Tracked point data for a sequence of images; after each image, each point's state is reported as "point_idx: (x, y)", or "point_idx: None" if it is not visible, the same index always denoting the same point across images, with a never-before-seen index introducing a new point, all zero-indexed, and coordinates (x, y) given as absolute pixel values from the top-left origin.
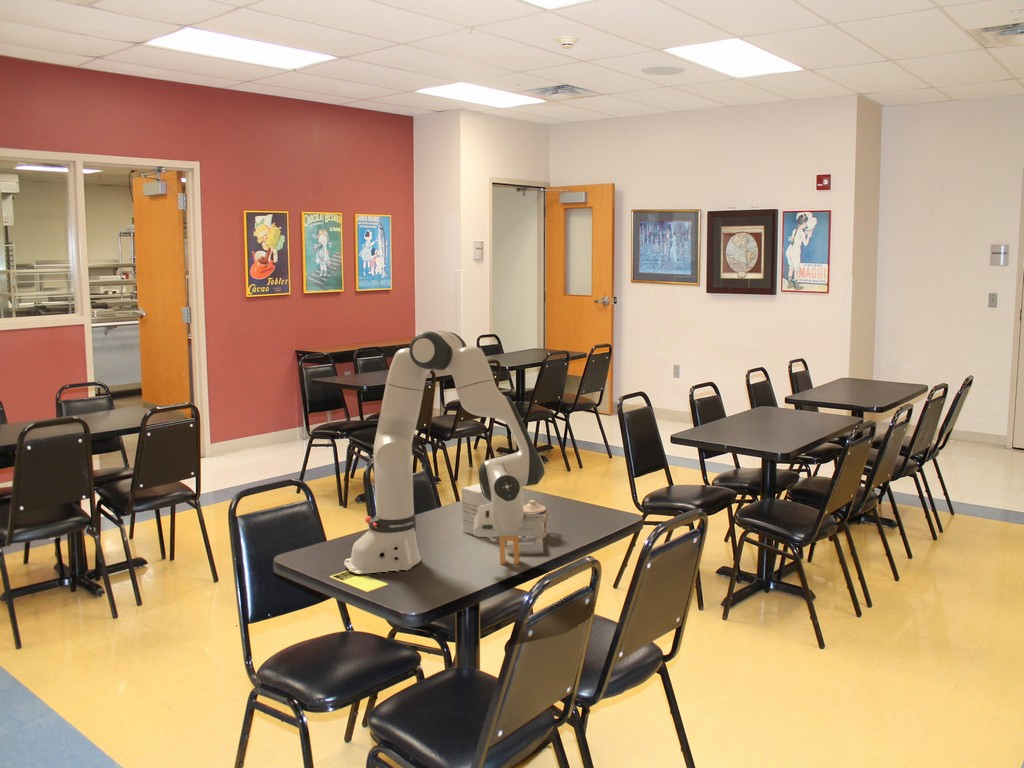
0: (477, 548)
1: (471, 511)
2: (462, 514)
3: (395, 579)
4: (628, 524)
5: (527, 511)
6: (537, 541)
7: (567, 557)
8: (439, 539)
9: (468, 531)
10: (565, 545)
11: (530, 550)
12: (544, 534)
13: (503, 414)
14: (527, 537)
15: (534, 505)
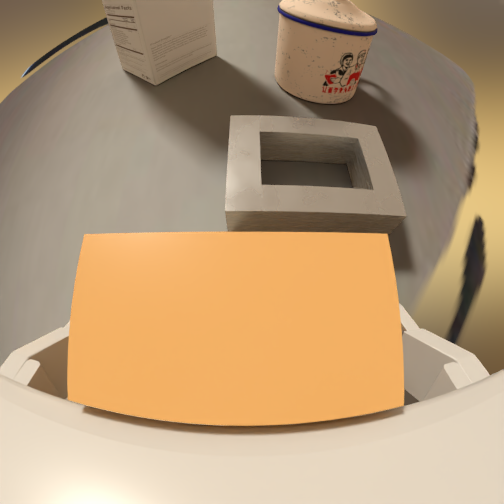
0: (120, 165)
1: (122, 23)
2: (111, 32)
3: None
4: (473, 91)
5: (320, 17)
6: (375, 178)
7: (464, 281)
8: (55, 116)
9: (130, 69)
10: (429, 163)
11: (342, 228)
12: (355, 90)
13: None
14: (406, 382)
15: (343, 2)
